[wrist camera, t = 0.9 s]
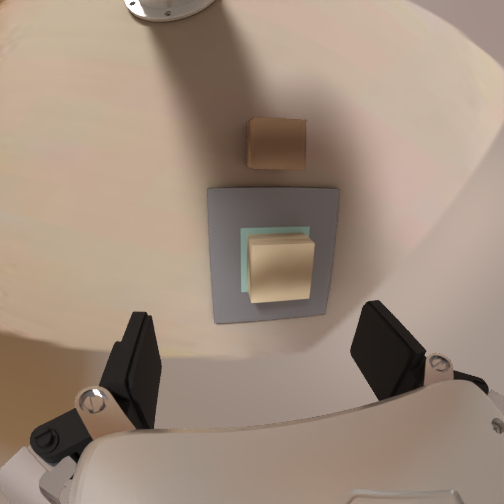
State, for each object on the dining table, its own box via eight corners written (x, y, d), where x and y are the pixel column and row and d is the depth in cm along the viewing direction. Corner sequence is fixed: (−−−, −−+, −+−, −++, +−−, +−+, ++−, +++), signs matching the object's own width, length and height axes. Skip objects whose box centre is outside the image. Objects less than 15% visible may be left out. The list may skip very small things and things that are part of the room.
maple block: (246, 234, 33) (251, 245, 29) (303, 232, 33) (314, 243, 30) (247, 286, 35) (251, 303, 31) (299, 283, 36) (309, 298, 32)
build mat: (207, 188, 31) (207, 189, 30) (338, 188, 33) (339, 189, 32) (214, 321, 37) (214, 323, 36) (324, 312, 39) (325, 314, 38)
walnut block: (246, 123, 29) (254, 117, 23) (289, 125, 29) (306, 120, 24) (246, 165, 30) (253, 169, 25) (288, 166, 31) (305, 170, 25)
